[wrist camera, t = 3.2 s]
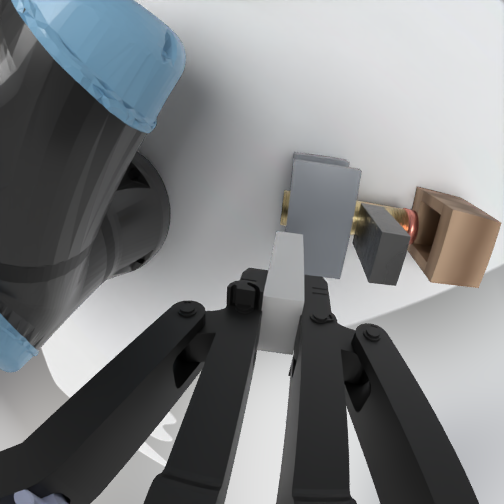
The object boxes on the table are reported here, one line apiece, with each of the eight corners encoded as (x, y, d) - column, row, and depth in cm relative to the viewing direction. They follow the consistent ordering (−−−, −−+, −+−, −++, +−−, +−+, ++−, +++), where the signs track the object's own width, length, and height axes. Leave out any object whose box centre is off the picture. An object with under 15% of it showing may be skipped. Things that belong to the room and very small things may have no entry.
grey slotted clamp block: (284, 239, 30) (280, 271, 24) (294, 152, 26) (293, 160, 20) (331, 245, 29) (339, 278, 23) (345, 159, 26) (361, 170, 19)
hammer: (281, 220, 27) (272, 270, 18) (285, 183, 25) (279, 217, 17) (401, 238, 26) (440, 290, 17) (409, 204, 24) (456, 245, 15)
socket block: (403, 244, 28) (430, 282, 21) (416, 186, 25) (453, 209, 18) (446, 251, 28) (478, 287, 20) (461, 197, 25) (501, 222, 18)
